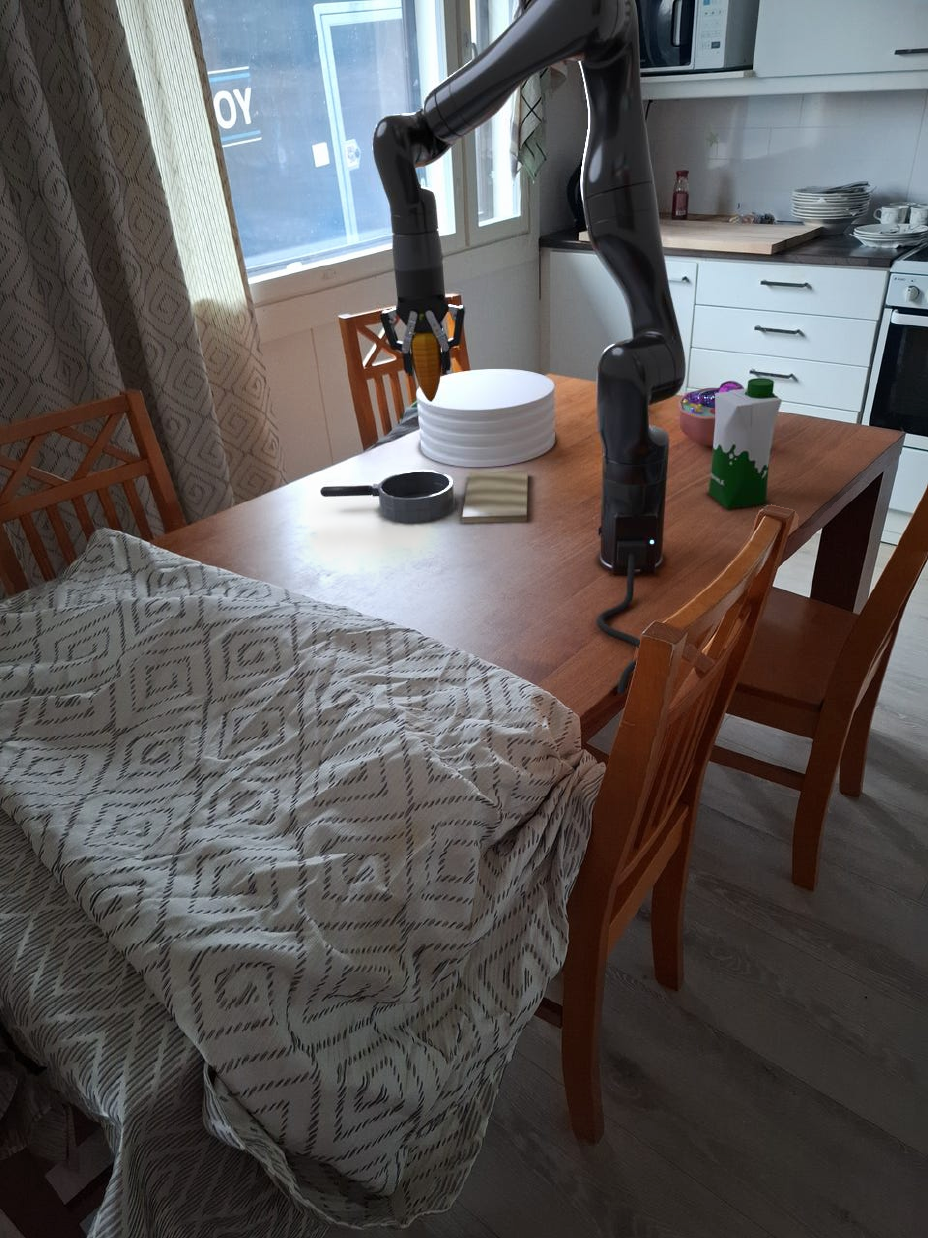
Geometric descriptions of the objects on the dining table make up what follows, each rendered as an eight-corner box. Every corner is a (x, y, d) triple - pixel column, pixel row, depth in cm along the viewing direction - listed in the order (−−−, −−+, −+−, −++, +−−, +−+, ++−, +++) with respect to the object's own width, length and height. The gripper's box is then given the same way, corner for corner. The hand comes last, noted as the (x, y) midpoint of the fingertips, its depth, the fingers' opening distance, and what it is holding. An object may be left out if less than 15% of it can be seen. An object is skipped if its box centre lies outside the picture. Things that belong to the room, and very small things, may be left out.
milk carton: (773, 504, 145) (789, 386, 134) (724, 512, 143) (736, 394, 133) (747, 485, 152) (760, 372, 142) (700, 492, 151) (709, 379, 140)
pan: (451, 522, 147) (449, 498, 144) (375, 524, 148) (372, 500, 146) (457, 491, 158) (455, 468, 156) (386, 494, 159) (384, 471, 157)
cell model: (653, 446, 171) (656, 390, 166) (711, 420, 182) (716, 366, 177) (727, 466, 160) (733, 406, 155) (784, 437, 171) (791, 380, 166)
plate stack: (436, 475, 165) (431, 417, 159) (410, 430, 189) (405, 378, 183) (573, 455, 170) (574, 398, 164) (531, 413, 194) (530, 362, 188)
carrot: (410, 403, 143) (399, 309, 136) (430, 395, 146) (421, 303, 139) (431, 407, 140) (421, 312, 133) (451, 399, 143) (444, 305, 136)
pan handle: (382, 492, 153) (381, 483, 152) (380, 496, 151) (379, 487, 150) (322, 494, 154) (320, 484, 153) (320, 498, 152) (318, 489, 151)
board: (526, 521, 145) (526, 515, 145) (462, 523, 146) (461, 516, 146) (527, 476, 162) (527, 470, 162) (469, 478, 163) (469, 472, 163)
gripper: (368, 270, 130) (382, 382, 138) (462, 264, 128) (470, 377, 137) (376, 262, 136) (388, 370, 145) (465, 256, 135) (473, 365, 143)
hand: (428, 373), depth 141 cm, fingers closed on carrot, 5 cm apart
